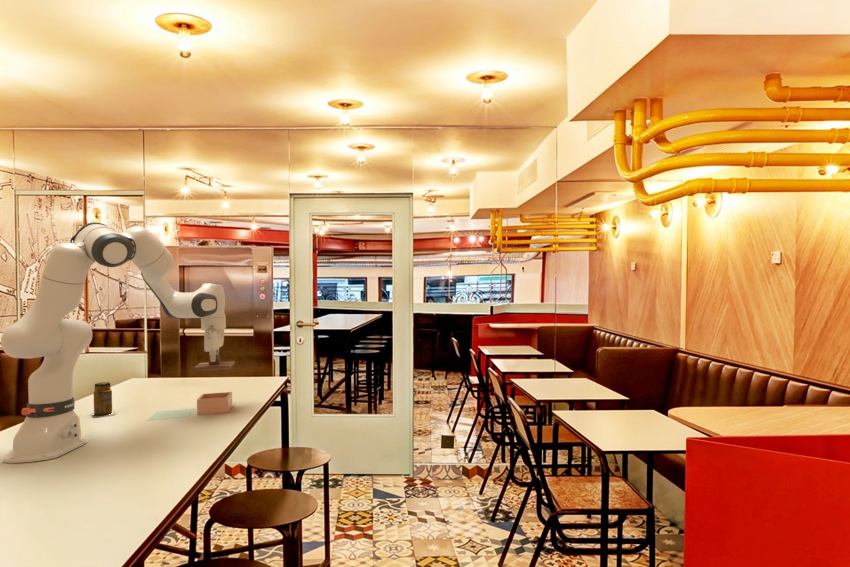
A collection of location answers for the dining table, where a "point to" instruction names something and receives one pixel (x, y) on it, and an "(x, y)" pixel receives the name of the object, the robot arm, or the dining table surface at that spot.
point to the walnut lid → (214, 365)
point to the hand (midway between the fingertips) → (214, 360)
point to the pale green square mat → (171, 414)
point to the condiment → (102, 400)
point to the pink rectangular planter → (214, 403)
